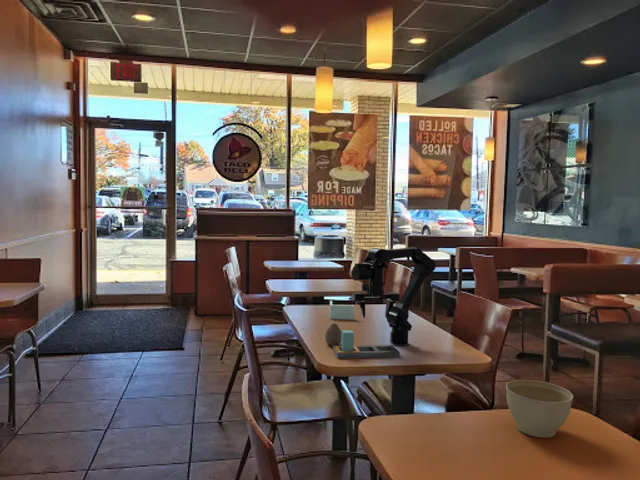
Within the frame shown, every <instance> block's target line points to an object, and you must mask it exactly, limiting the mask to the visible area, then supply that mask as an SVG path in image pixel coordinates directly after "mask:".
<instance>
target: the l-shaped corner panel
mask: <svg viewBox="0 0 640 480" xmlns="http://www.w3.org/2000/svg"><path fill="white" fill-rule="evenodd" d="M329 319H330V320H352V321H353V320H355V305H351V304H349V305H346V304H333V300H329Z"/></svg>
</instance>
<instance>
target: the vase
mask: <svg viewBox="0 0 640 480" xmlns="http://www.w3.org/2000/svg"><path fill="white" fill-rule="evenodd" d="M341 330H342V329H341V328H340V327H339V326H338V323H336V322H335V323H334V322H333V323H332V322H331V323H330V325H329V327H328V328H327V329H326V331H325V334H324V336H325V343H327V345H329V346H331V347H333V346H340V345H341Z"/></svg>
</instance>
